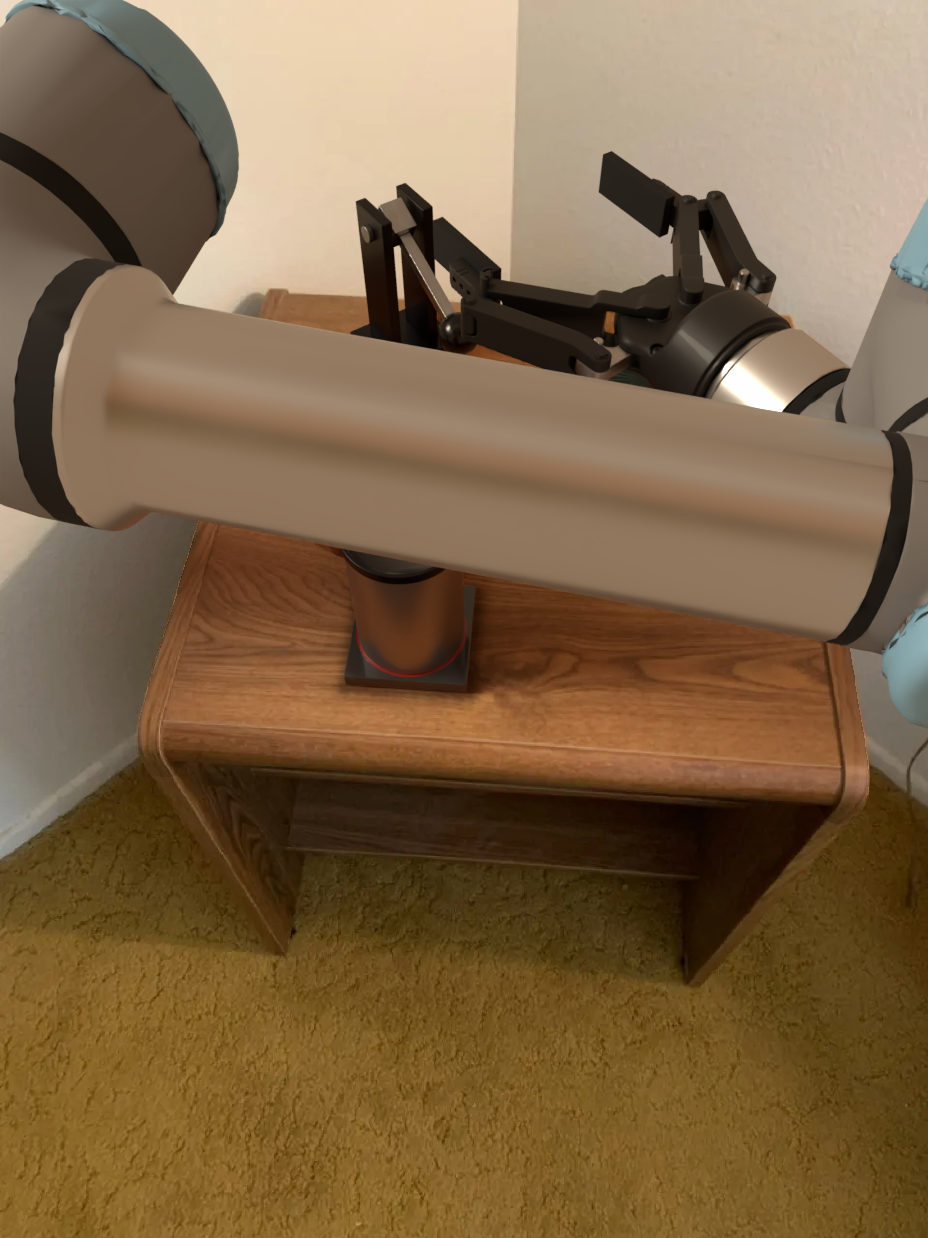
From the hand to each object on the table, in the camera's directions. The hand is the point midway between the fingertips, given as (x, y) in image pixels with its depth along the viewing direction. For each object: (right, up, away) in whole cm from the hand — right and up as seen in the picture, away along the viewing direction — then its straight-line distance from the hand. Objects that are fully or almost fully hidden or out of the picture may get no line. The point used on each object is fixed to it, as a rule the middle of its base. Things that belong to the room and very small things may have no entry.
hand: (524, 203), depth 61 cm
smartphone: (+13, -6, +25) cm, 29 cm away
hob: (-8, -29, +9) cm, 32 cm away
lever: (-7, +1, +19) cm, 21 cm away
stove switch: (-10, -1, +28) cm, 30 cm away
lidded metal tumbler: (-8, -28, +8) cm, 31 cm away
